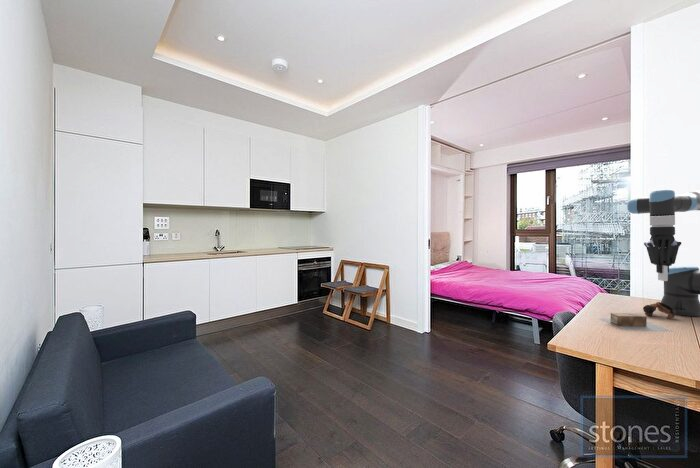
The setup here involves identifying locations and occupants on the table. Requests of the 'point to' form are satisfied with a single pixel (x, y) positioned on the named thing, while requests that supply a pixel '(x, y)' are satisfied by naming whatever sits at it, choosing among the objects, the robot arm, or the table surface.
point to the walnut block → (629, 319)
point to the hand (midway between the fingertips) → (662, 280)
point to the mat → (649, 327)
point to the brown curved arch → (661, 306)
